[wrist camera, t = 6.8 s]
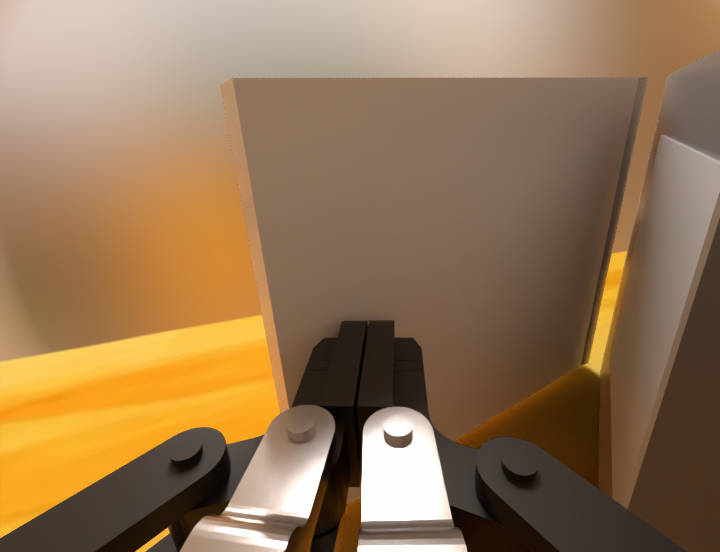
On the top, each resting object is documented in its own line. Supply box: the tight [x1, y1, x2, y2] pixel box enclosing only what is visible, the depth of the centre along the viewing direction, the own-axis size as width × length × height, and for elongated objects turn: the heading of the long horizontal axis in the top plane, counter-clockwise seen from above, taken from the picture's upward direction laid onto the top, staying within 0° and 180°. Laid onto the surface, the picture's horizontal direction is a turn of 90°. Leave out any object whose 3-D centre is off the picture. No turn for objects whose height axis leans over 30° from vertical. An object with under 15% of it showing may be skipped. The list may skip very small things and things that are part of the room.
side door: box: [220, 77, 648, 506], centre depth 14 cm, size 2×17×14 cm, turn 120°
